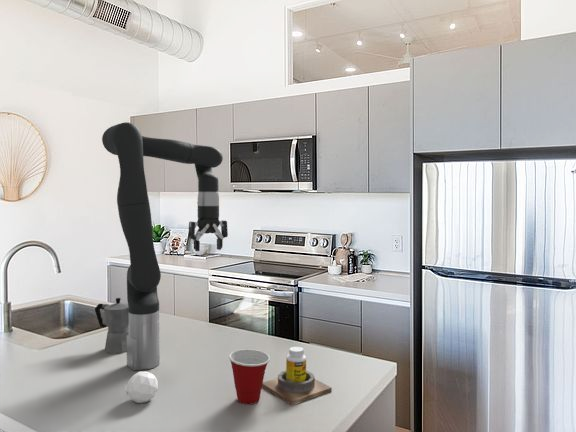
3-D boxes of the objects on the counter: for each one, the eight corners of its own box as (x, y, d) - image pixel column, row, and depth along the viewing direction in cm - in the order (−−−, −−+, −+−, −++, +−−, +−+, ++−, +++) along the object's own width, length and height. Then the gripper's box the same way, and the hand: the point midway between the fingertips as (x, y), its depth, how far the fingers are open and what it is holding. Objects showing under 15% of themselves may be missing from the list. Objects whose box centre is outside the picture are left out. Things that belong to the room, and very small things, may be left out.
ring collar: (291, 405, 116) (291, 391, 116) (261, 386, 127) (261, 374, 127) (331, 391, 125) (331, 378, 124) (300, 374, 136) (300, 363, 136)
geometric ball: (150, 411, 118) (161, 393, 114) (119, 405, 115) (129, 386, 111) (153, 387, 124) (164, 368, 121) (125, 380, 121) (134, 361, 118)
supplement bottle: (293, 390, 122) (293, 353, 122) (282, 383, 127) (282, 347, 126) (309, 386, 125) (310, 350, 125) (298, 379, 130) (299, 344, 129)
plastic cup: (264, 411, 113) (264, 364, 112) (223, 407, 115) (223, 360, 114) (274, 392, 123) (274, 349, 123) (236, 389, 125) (236, 346, 125)
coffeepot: (142, 346, 160) (142, 295, 159) (128, 355, 150) (128, 302, 150) (103, 342, 163) (103, 293, 162) (87, 352, 153) (86, 299, 152)
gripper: (194, 205, 152) (194, 253, 152) (231, 204, 160) (231, 250, 161) (185, 204, 158) (185, 250, 158) (221, 204, 166) (221, 247, 167)
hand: (208, 250), depth 160 cm, fingers open, 8 cm apart
